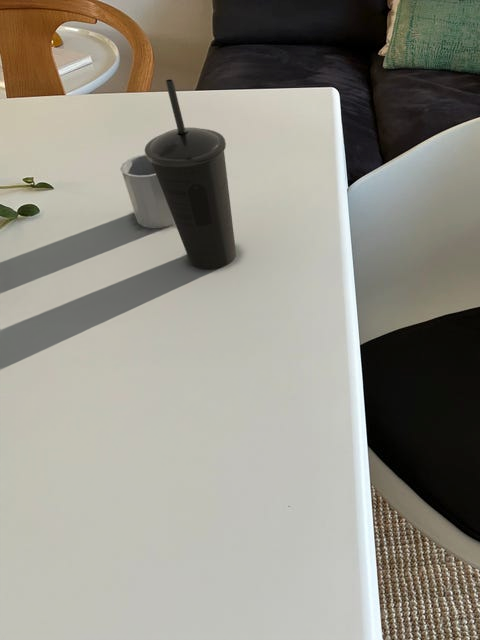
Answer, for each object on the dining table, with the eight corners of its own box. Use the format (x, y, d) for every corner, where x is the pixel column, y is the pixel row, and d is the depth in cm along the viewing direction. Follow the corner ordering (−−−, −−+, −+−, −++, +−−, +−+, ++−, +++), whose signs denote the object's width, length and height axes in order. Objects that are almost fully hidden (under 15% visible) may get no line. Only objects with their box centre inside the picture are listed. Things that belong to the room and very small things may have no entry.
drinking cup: (264, 252, 87) (228, 73, 74) (219, 287, 82) (172, 102, 69) (209, 236, 89) (165, 60, 76) (162, 269, 84) (107, 87, 71)
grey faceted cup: (133, 233, 90) (115, 178, 85) (143, 208, 94) (126, 154, 90) (185, 230, 90) (170, 175, 86) (192, 205, 95) (178, 151, 90)
